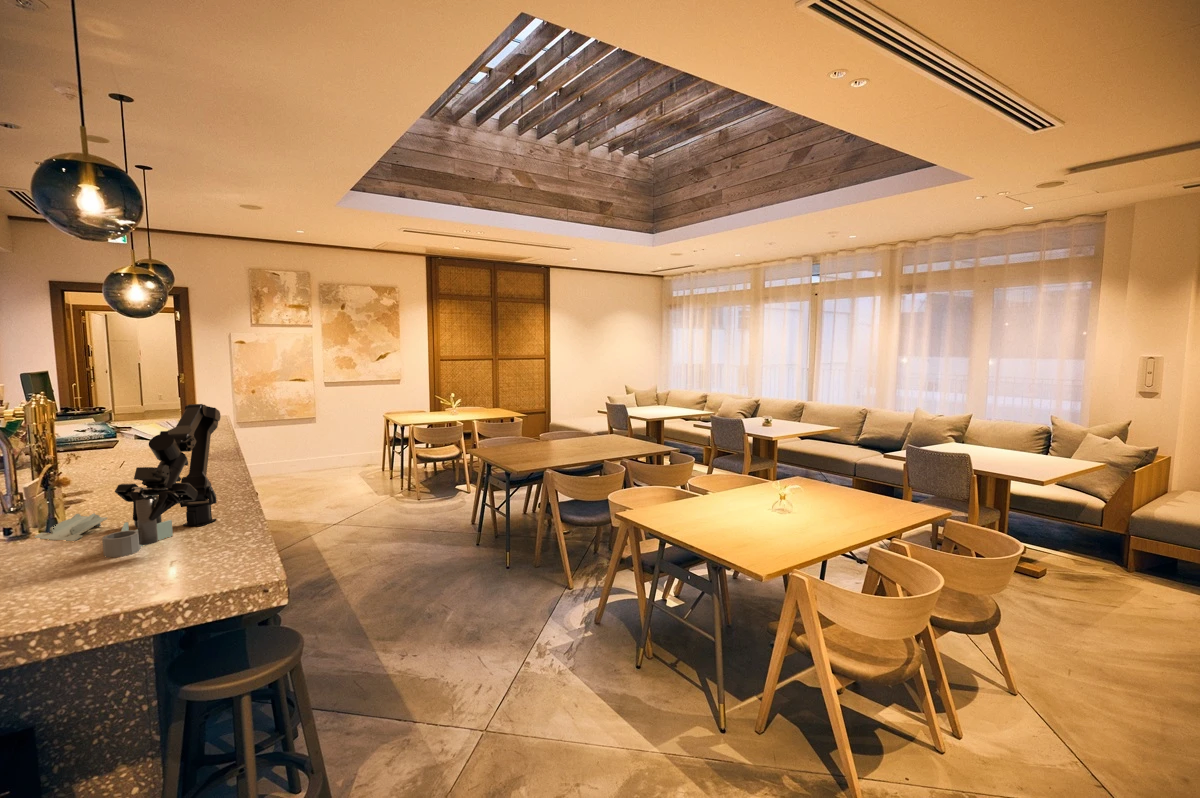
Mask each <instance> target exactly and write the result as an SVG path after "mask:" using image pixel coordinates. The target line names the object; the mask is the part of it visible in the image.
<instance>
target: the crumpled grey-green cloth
mask: <svg viewBox="0 0 1200 798" xmlns="http://www.w3.org/2000/svg"><path fill="white" fill-rule="evenodd" d="M106 520H108V517H103V516H100V515H99V514H96V513H95V512H93V513H92V514H90V515H86V516H85V515H82V514H81V513H75V514H74V515H73V516H72V517H71V518H68V519H65V520H62V521H60V522H59V523H57V524H55V525H56V526H55V525H53V526H54V527H53V526H51V527H49V532H51V533H49V532H40V533H38V534H37V535H34V536H33V537H35V538H40V539H49V540H48V541H55V540H66V541H74V542H76V541H78V540H80V539H81V538H82V537H84V535H83V533H85V532H86V531H88V530H90V529H92V528H95V527H94V526H101V527H102V524H101V523H103V522H104V521H106ZM53 528H54V529H53ZM75 540H76V541H75Z"/></svg>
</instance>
